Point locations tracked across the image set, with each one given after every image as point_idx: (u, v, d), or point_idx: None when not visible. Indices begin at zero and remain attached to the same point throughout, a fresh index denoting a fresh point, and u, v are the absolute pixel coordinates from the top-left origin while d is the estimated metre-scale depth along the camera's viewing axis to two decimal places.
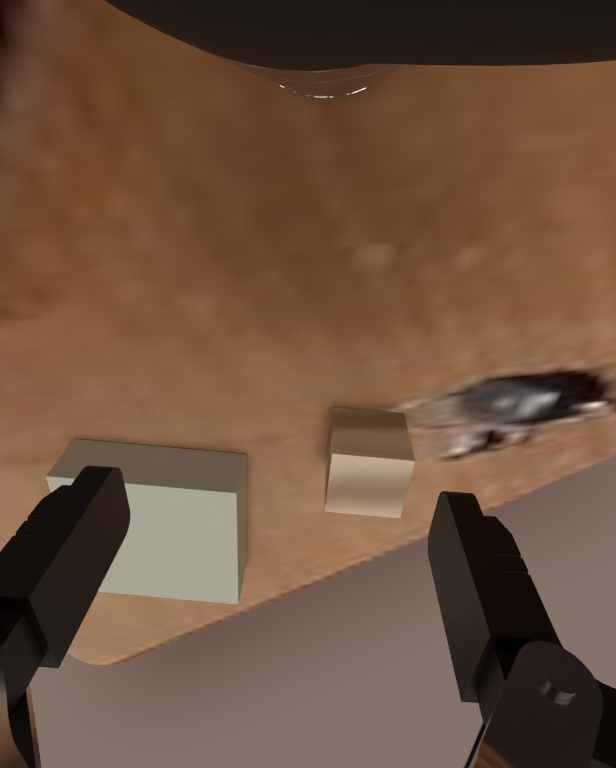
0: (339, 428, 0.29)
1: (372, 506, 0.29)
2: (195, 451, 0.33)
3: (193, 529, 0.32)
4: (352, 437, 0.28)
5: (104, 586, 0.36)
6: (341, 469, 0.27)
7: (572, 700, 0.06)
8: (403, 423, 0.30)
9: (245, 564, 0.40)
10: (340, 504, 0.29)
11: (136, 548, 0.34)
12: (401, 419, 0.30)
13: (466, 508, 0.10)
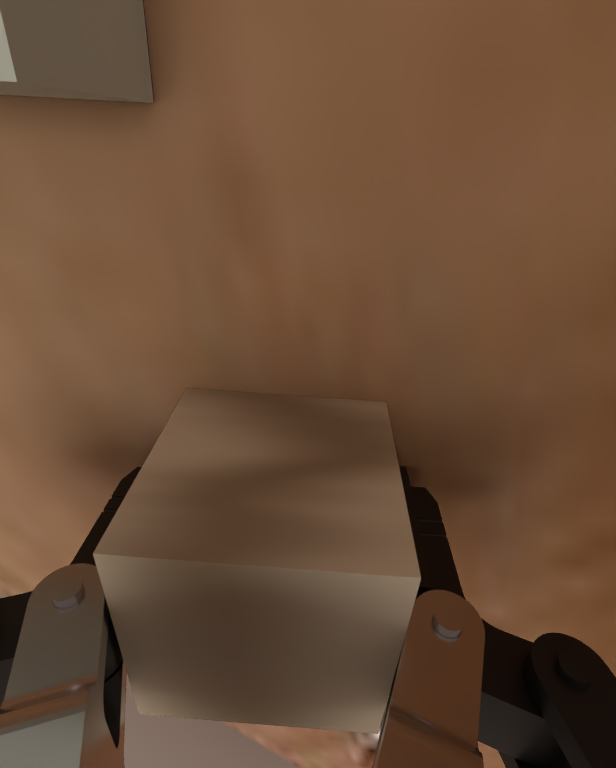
0: None
1: (169, 667, 0.08)
2: None
3: None
4: None
5: None
6: (338, 599, 0.07)
7: (457, 637, 0.07)
8: None
9: None
10: (152, 597, 0.07)
11: None
12: None
13: None
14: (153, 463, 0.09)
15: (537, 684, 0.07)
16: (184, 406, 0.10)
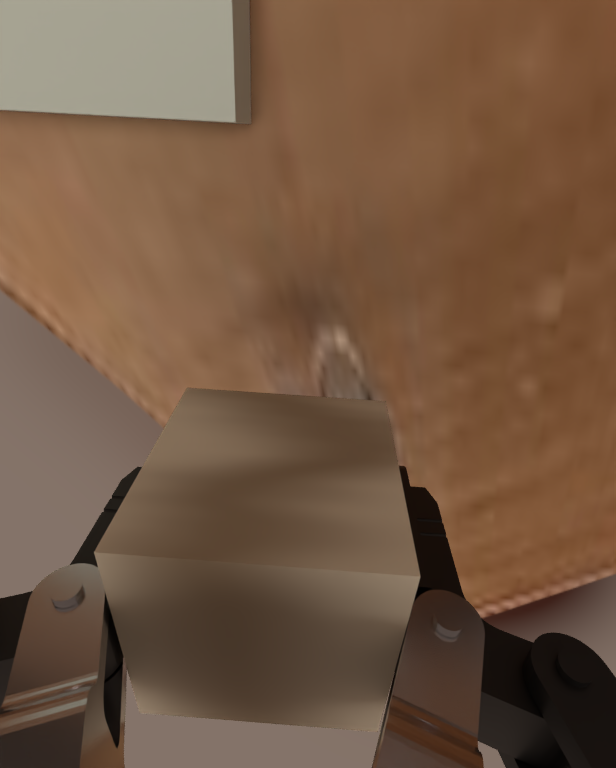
0: None
1: (169, 665, 0.08)
2: (249, 13, 0.18)
3: (109, 5, 0.15)
4: None
5: None
6: (338, 597, 0.07)
7: (456, 637, 0.07)
8: None
9: None
10: (153, 596, 0.07)
11: None
12: None
13: None
14: (154, 462, 0.09)
15: (537, 684, 0.07)
16: (184, 406, 0.10)
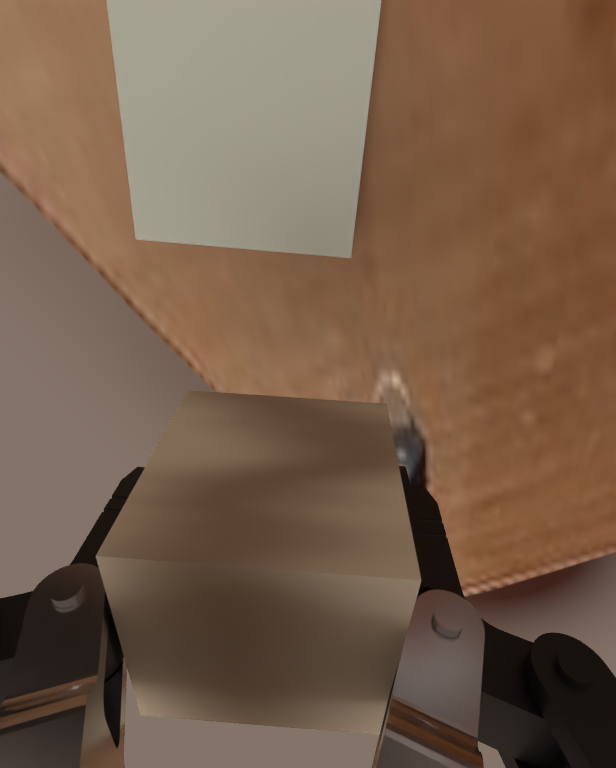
0: None
1: (171, 668, 0.08)
2: None
3: (285, 195, 0.25)
4: None
5: (122, 0, 0.21)
6: (339, 601, 0.07)
7: (456, 637, 0.07)
8: None
9: None
10: (154, 599, 0.07)
11: (234, 94, 0.23)
12: None
13: None
14: (155, 465, 0.09)
15: (537, 684, 0.07)
16: (185, 408, 0.10)
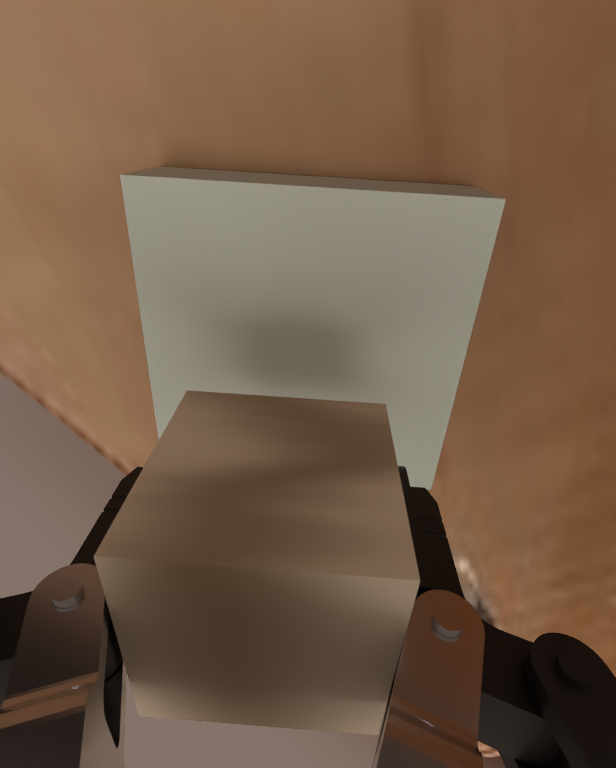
0: None
1: (169, 669, 0.08)
2: None
3: None
4: None
5: (149, 232, 0.16)
6: (338, 601, 0.07)
7: (456, 637, 0.07)
8: None
9: None
10: (153, 599, 0.07)
11: (294, 330, 0.17)
12: None
13: None
14: (153, 465, 0.09)
15: (537, 684, 0.07)
16: (184, 408, 0.10)
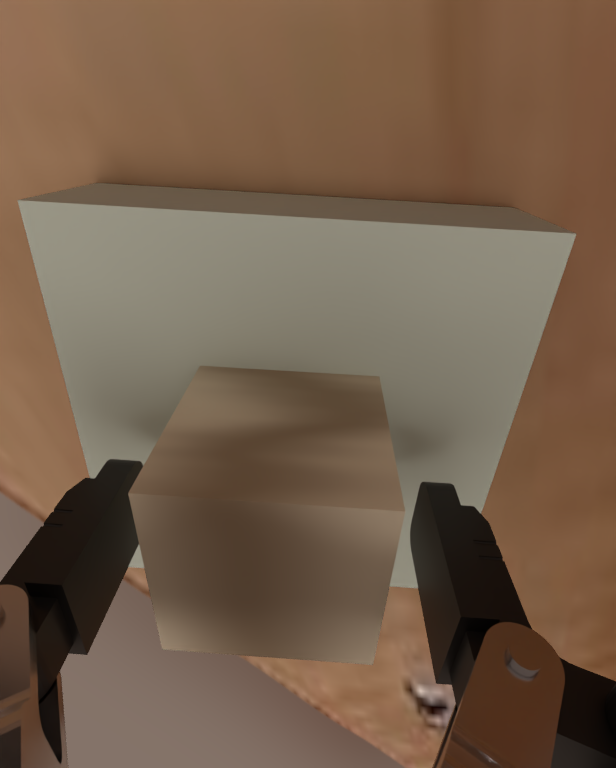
0: None
1: (189, 601, 0.09)
2: None
3: None
4: None
5: (68, 280, 0.11)
6: (335, 532, 0.08)
7: (535, 676, 0.07)
8: None
9: None
10: (177, 533, 0.08)
11: None
12: None
13: (444, 497, 0.10)
14: (174, 425, 0.10)
15: None
16: (198, 380, 0.12)
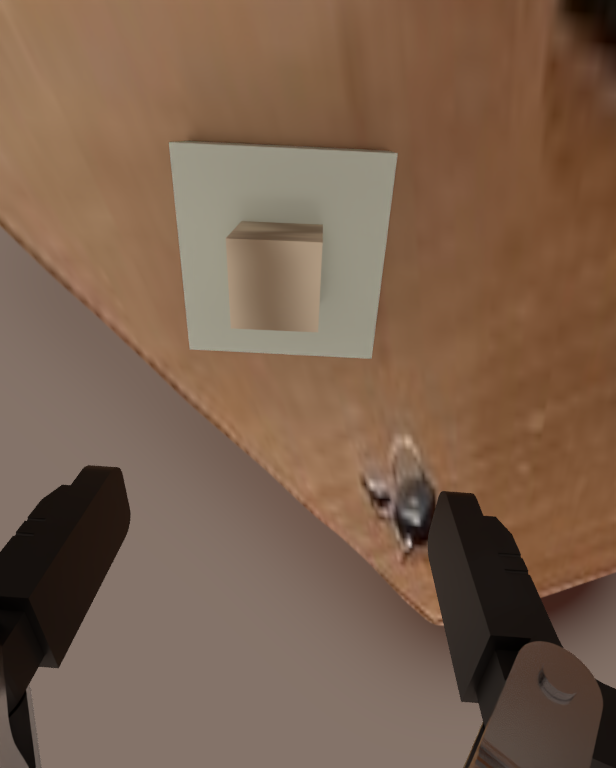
0: None
1: (244, 296, 0.24)
2: None
3: None
4: None
5: (185, 178, 0.26)
6: (299, 254, 0.23)
7: (572, 700, 0.06)
8: None
9: None
10: (241, 257, 0.23)
11: None
12: None
13: (466, 508, 0.10)
14: (236, 230, 0.25)
15: None
16: (242, 223, 0.26)
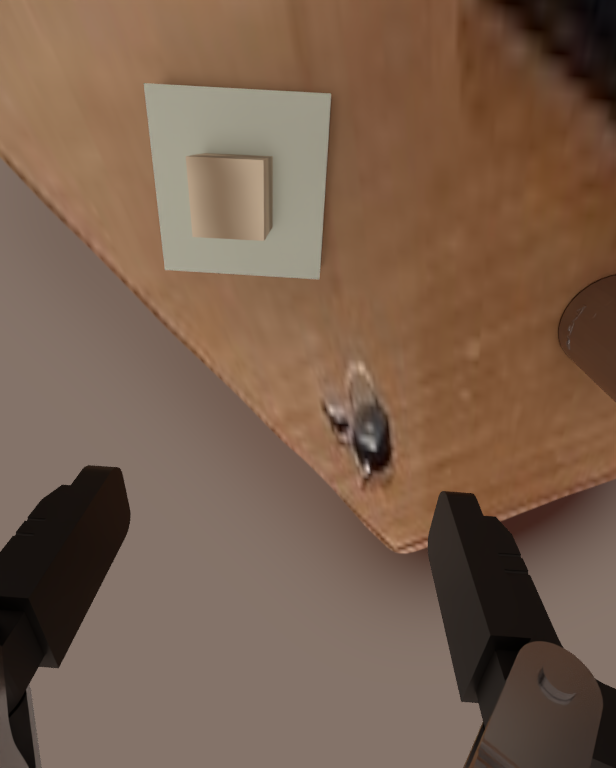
0: (268, 166, 0.30)
1: (202, 208, 0.30)
2: None
3: (270, 237, 0.35)
4: (266, 179, 0.30)
5: (158, 115, 0.31)
6: (245, 170, 0.28)
7: (572, 700, 0.06)
8: (270, 227, 0.34)
9: None
10: (199, 173, 0.29)
11: None
12: (271, 225, 0.34)
13: (466, 508, 0.10)
14: (197, 154, 0.30)
15: None
16: (204, 153, 0.32)
